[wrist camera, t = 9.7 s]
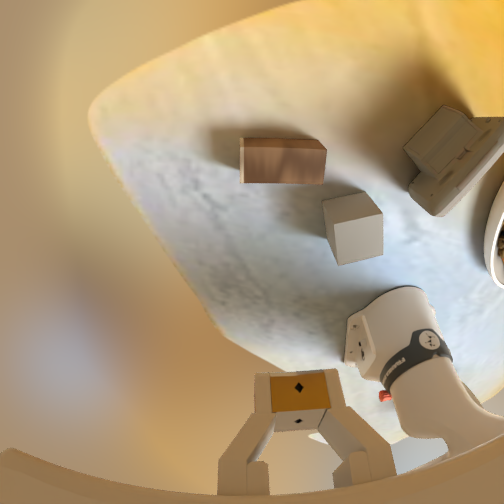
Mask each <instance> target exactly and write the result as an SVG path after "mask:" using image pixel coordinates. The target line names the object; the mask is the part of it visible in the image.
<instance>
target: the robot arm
mask: <svg viewBox="0 0 504 504" xmlns="http://www.w3.org/2000/svg"><path fill="white" fill-rule="evenodd" d="M435 314H436V311H435V309H434V307H433V306H432V305H430V304H429V300H428V297H427V295H426V293H425V292H424V291H423V290H421V289H419V288H416V287H402V288H398V289H394V290H392V291H389V292H387V293H385V294H383V295H381V296H380V297H378V298H377V299H375V300H374V301H373V302H372V303H371V304H369V305H368V306H367V307H366V308H365V309H363V310H361V311H359V312H357V313H355V314H353V315H351V316H350V317H349V318H348V320H347V333H346V345H345V356H344V362H345V365H347V366H350V367H357V368H358V369H359V372H360V374H361V376H362V378H364V379H366V380H370V381H376V382H381V383H382V385H383V386H384V388H385V389H386V390H382V391H380V392H379V399H380V401H381V402H383V401H386V400H391V399H393V402H394V406H395V409H396V412H397V415H398V419H399V422H400V425H401V428H402V429H403V431H404V432H405V433H406V434H408V435H409V436H411V437H414V438H421V439H422V438H423V439H426V438H427V439H429V438H430V439H431V438H443V439H444V441H445V442H446V444H447V446H448V449H449V451H448V452H447V453H445V454H444V455H442V456H440V457H438V458H436V459H434V460H432V461H430V462H428V463H426V464H424V465H421V466H419V467H417V468H415V469H413V470H410V471H408V472H406V473H404V474H400V475H397V473H396V469H395V464H394V460H393V456H392V451H391V447H390V444H389V443H388V442H387V441H386V440H385V439H384V438H382V437H381V436H380V435H379V434H378V433H377V432H376V431H375V430H374V429H373V428H372V427H371V426H370V425H369V424H368V423H367V422H366V421H365V420H364V419H362V418H361V417H360V416H359V415H358V414H357V413H356V412H355V411H354V410H353V409H352V408H351V407H350V406H347V407H346V404H345V399H344V395H343V391H342V386H341V382H340V378H339V373H338V371H337V369H335V368H334V369H323V370H322V369H320V370H309V371H296V372H277V373H269V372H268V373H255V383H254V408H255V413H252V414H251V415H250V417H249V418H248V420H247V421H246V423H245V424H244V426H243V427H242V429H241V430H240V431H239V433H238V434H237V436H236V437H235V438H234V440H233V441H232V442H231V444H230V445H229V447H228V448H227V449H226V451H225V452H224V453H223V455H222V456H221V458H220V459H219V462H218V490H217V495H204V494H191V493H181V492H173V491H165V490H158V489H151V488H145V487H139V486H134V485H129V484H124V483H119V482H115V481H110V480H106V479H102V478H98V477H95V476H91V475H87V474H83V473H80V472H77V471H74V470H71V469H67V468H64V467H61V466H58V465H55V464H53V463H50V462H47V461H44V460H42V459H39V458H37V457H34V456H32V455H29V454H27V453H24V452H22V451H20V450H17V449H15V448H8V449H6V450H4V451H3V452H1V453H0V504H504V416H500V415H496V414H493V413H490V412H488V411H486V410H484V409H483V408H481V407H480V406H479V405H478V404H476V403H475V402H474V401H473V399H472V398H471V397H470V396H469V394H468V393H467V391H466V389H465V387H464V386H463V384H462V382H461V380H460V378H459V376H458V374H457V372H456V370H455V368H454V366H453V364H452V362H453V359H452V356H451V352H450V350H449V349H448V347H447V345H446V343H445V341H444V338H443V335H442V333H441V330H440V328H439V325H438V323H437V320H436V318H435ZM310 429H318V431H319V433H320V434H321V435H322V436H323V437H324V439H325V440H326V441H327V442H328V444H329V445H330V446H331V447H332V448H333V449H334V451H335V452H336V453H337V454H338V456H339V457H340V458H341V459H342V460H343V462H342V464H341V465H340V466H339V467H338V468H337V469H336V470H335V471H334V472H333V482H334V489H329V490H322V491H314V492H305V493H294V494H281V495H270V491H269V475H268V464H267V463H265V462H264V461H257V460H258V458H259V456H260V455H261V453H262V451H263V450H264V448H265V447H266V445H267V443H268V441H269V440H270V438H271V436H272V435H273V432H283V431H295V430H310Z"/></svg>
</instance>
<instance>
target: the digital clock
mask: <svg viewBox="0 0 504 504" xmlns="http://www.w3.org/2000/svg"><path fill="white" fill-rule="evenodd" d="M403 149H404V151H405V152H406V153H407V154H408V156H409V157H410V158H411V159H412V161H413V162H414V163H415V164H416V166H417V167H418V168H419V170H420V171H421V172H420V173H419V174H418V175H417V177H416V178H415V179H414V180H413V181H412V182H411V183H410V184H409V187H408V190H409V194H410V196H411V198H412V199H413V200H414V201H415V202H417V203H418V204H419V205H420V206H421V207H422V208H423V209H425V210H426V211H427V212H428V213H429V214H430V215H432V216H436V217H443V216H445V215H446V214H447V213H448V212H449V211H450V210H451V209H452V208H453V207H454V206H455V205H456V204H457V203H458V202H459V201H460V200H461V199H462V198H463V197H464V196H465V195H466V194H467V193H468V192H469V191H470V190H471V189H472V187H473V186H474V185H475V184H476V183H477V182H478V181H479V180H480V179H481V178H482V177H483V175H484V174H485V173H486V172H487V171H488V170H489V169H490V168H491V166H492V165H493V164H494V163H495V162H496V161H497V160H498V158H499V157H500V156H501V155H502V154H503V152H504V117H476V118H472V119H470V120H469V119H468V117H467V116H466V115H465V114H464V113H462V112H461V111H459V110H456V109H454V108H451V107H448V106H446V105H443V106H442V107H441V108H440V109H439V110H438V111H437V112H436V113H435V114H434V116H433V117H432V118H431V119H430V120H429V121H428V122H427V123H426V124H425V125H424V126H423V127H422V128H421V129H420V130H419V131H418V132H417V133H416V134H415V135H414V136H413V138H412V139H411V140H410V141H409V142H408V143H407V144H406V145H405V146H404V147H403Z"/></svg>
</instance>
